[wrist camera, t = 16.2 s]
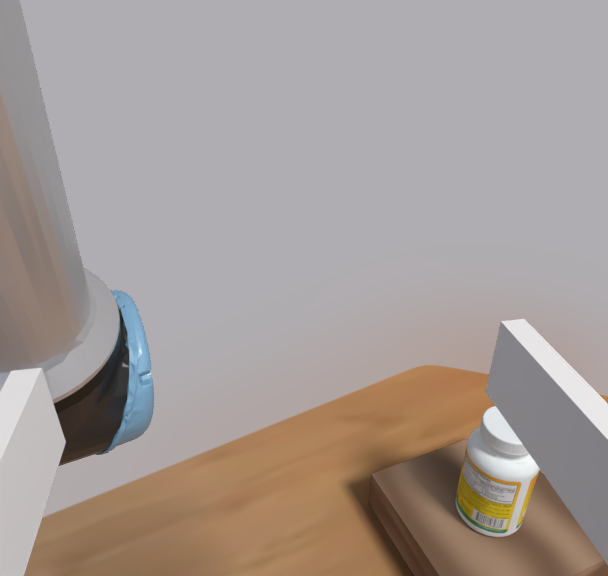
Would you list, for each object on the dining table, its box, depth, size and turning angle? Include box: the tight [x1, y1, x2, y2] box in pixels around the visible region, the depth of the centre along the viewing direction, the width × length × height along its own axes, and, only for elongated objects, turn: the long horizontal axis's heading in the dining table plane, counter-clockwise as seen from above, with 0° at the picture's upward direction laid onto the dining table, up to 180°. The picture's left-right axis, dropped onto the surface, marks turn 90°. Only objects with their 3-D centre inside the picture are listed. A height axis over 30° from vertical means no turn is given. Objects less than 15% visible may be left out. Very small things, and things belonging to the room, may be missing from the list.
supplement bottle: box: [456, 406, 540, 537], centre depth 40 cm, size 5×5×10 cm
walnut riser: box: [369, 439, 608, 576], centre depth 44 cm, size 14×14×4 cm
